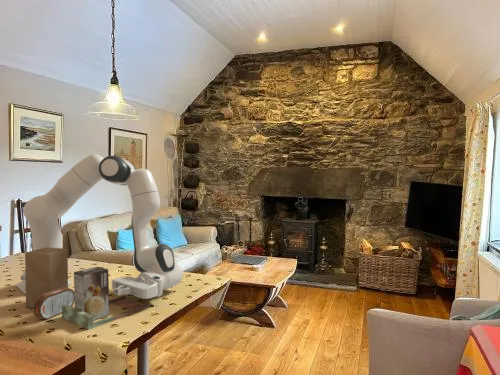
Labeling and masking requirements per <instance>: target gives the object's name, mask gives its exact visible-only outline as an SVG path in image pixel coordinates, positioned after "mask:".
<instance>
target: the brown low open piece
mask: <svg viewBox="0 0 500 375" xmlns="http://www.w3.org/2000/svg"><path fill="white" fill-rule="evenodd" d="M126 297H127V296H126V295H125V294H124V295H119V296H117V297H113V298H109V305H111V304H113V305H116V306H119V307H121V308H124V309H127V310H126V311H123V312H120V313H119V312H118V313H117V314H114V315H112V316H109V317H108V316H107V317H106V318H105V317H104V318H103V319H102V318H101V319H100V320H97V321H94V320H93V315H90V314H88V313H86V312H83V311H81V310H79V309H76V308H75V306H72V307H71V306H69V305H67V304H66V305H62V313H61V318H62V319H65V320H68V321H69V322H71V323H73V324H76V325H78V326H80V327H82V328H84V329H87V330H91V329H94V328H97V327H100V326H102V325H106V324H107V323H111V322H113V321H116V320H119V319H122V318H125V317H127V316H129V315H133V314H135V313H138V312H141V311H144V310H147V309H149V308H151V304H150V303H145V304H141V303H138V302H135V301H133V300H130V299H127V298H126Z"/></svg>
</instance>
